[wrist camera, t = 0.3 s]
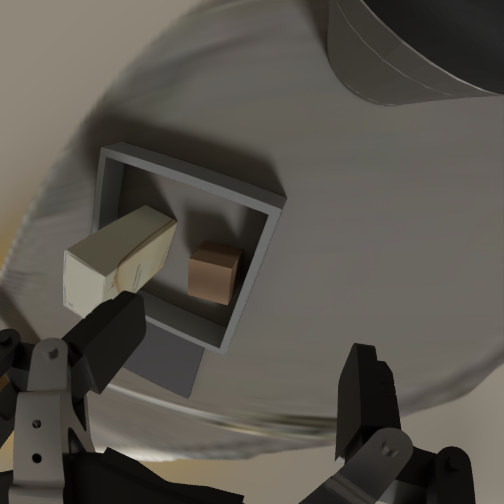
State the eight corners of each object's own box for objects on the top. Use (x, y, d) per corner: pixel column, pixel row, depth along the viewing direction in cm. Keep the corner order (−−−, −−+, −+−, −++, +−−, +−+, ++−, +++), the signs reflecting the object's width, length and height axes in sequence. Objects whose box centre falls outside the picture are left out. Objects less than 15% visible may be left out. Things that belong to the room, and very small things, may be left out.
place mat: (112, 293, 37) (108, 296, 36) (207, 338, 36) (205, 342, 35) (112, 356, 43) (110, 360, 43) (189, 395, 43) (188, 398, 42)
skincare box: (163, 266, 33) (100, 334, 22) (131, 248, 33) (62, 306, 22) (179, 219, 30) (106, 278, 19) (143, 200, 30) (62, 249, 19)
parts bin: (122, 141, 27) (101, 146, 24) (287, 197, 26) (281, 209, 23) (107, 278, 36) (92, 291, 33) (233, 335, 35) (224, 355, 32)
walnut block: (204, 240, 30) (189, 258, 27) (243, 249, 30) (231, 268, 26) (202, 274, 32) (188, 294, 29) (238, 283, 32) (227, 305, 28)
